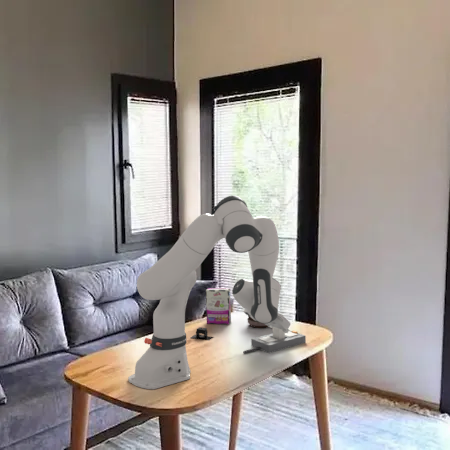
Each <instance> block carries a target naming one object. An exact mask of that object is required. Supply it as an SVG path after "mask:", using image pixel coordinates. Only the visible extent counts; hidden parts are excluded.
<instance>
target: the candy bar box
mask: <svg viewBox="0 0 450 450" xmlns="http://www.w3.org/2000/svg"><path fill="white" fill-rule="evenodd" d="M205 302H206V304H205V306H206V307H205V309H206V310H205V311H206V324H207V325H230V324H231V323H232V309H231V307H232V306H231V303H232V302H231V288H226V287H225V288H224V287H223V288H222V287H221V288H219V287H217V288H216V287H215V288H214V287H213V288H212V287H211V288H210V287H209V288H207V289H205Z"/></svg>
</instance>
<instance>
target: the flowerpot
mask: <svg viewBox="0 0 450 450" xmlns="http://www.w3.org/2000/svg"><path fill="white" fill-rule="evenodd" d="M247 317H248V318H247V319H246V320H247V323H248V324H249V326H250V327H252V328H257V329H266V327H267V328H269V327H268V326H267V325H265V324H263V323H259V322H258V321H255V320H254V319H252V318H251V317H250V316H249V315H247ZM264 327H265V328H264Z"/></svg>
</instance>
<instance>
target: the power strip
mask: <svg viewBox="0 0 450 450" xmlns="http://www.w3.org/2000/svg"><path fill="white" fill-rule="evenodd" d="M306 338H307V337H306V335H305V334H302V333H300V332H299V331H296V330H289V332H288V333H285V339H281V340H277V339H275V338H273V332H272V333H269V334H264V335H261V336H257V337H253V338H251V341H250V342H251V347H253V348H250V349H246V350H244V351H243V352H242V353H243V354H248V353H252V352H256V351H259V350H260V351H264V352H266V353H269V354H270V353H272V352H277V351H280V350H284V349H288V348H291V347H295V346H298V345H302V344H306V342H307V341H306Z"/></svg>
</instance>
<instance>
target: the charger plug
mask: <svg viewBox="0 0 450 450" xmlns="http://www.w3.org/2000/svg"><path fill="white" fill-rule="evenodd" d="M272 333H273V338H275V339H277V340H281V339H285V333H284V332H283V331H282V329H279V328H276V327H272Z"/></svg>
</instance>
